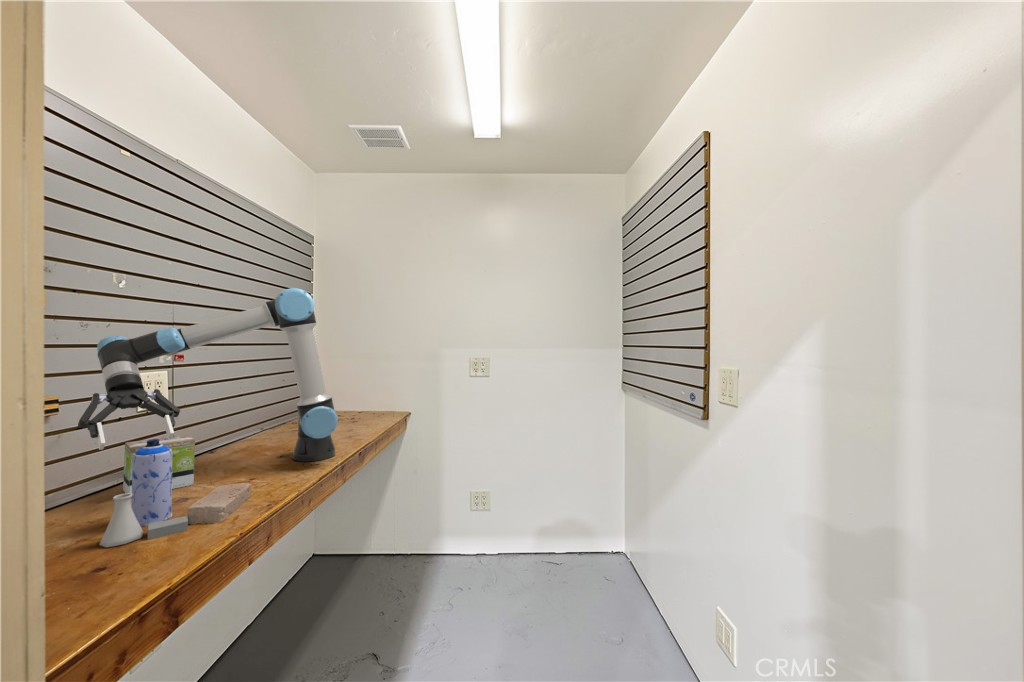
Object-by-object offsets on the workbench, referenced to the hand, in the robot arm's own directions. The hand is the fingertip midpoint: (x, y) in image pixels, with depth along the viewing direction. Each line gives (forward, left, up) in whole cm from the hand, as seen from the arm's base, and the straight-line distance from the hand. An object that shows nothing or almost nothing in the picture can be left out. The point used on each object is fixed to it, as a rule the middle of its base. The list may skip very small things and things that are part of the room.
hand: (138, 441), depth 105 cm
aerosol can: (-4, +9, -19) cm, 21 cm away
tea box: (-3, -19, -19) cm, 27 cm away
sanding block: (-8, +20, -19) cm, 28 cm away
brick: (-18, +12, -19) cm, 29 cm away
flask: (0, +19, -19) cm, 27 cm away
